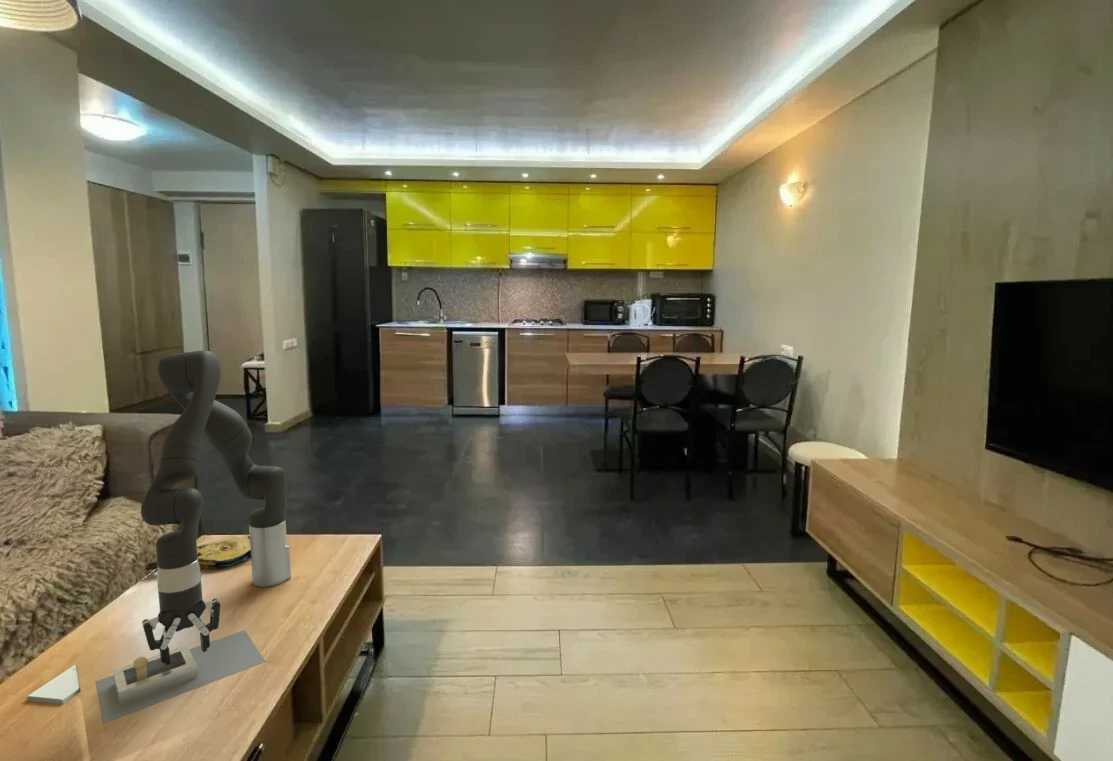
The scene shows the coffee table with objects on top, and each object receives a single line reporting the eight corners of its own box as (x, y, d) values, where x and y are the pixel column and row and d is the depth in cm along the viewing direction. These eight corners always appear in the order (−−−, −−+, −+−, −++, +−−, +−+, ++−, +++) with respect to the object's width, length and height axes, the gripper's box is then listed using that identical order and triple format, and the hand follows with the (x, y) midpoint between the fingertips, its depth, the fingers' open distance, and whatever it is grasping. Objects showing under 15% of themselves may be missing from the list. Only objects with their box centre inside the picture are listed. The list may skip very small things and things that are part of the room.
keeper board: (245, 634, 138) (243, 605, 137) (265, 666, 126) (263, 635, 125) (96, 686, 119) (92, 653, 118) (104, 729, 107) (100, 693, 106)
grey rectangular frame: (188, 657, 127) (187, 645, 126) (197, 677, 120) (196, 664, 120) (114, 683, 118) (112, 670, 118) (119, 706, 111) (118, 692, 111)
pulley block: (147, 544, 172) (260, 527, 186) (149, 560, 174) (261, 543, 188) (139, 570, 160) (260, 550, 174) (142, 588, 162) (261, 567, 176)
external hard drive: (26, 703, 115) (84, 664, 127) (63, 706, 114) (118, 667, 126) (25, 695, 115) (83, 657, 127) (62, 699, 114) (117, 660, 126)
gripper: (214, 565, 128) (219, 635, 130) (134, 586, 118) (142, 662, 120) (223, 577, 122) (228, 650, 124) (140, 601, 112) (147, 679, 115)
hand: (186, 656), depth 122 cm, fingers open, 6 cm apart
